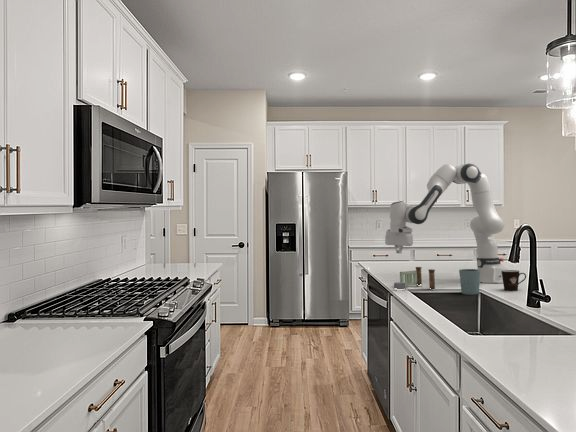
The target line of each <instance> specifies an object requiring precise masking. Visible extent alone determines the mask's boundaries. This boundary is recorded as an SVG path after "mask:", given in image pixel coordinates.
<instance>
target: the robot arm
mask: <svg viewBox="0 0 576 432" xmlns="http://www.w3.org/2000/svg"><path fill="white" fill-rule="evenodd" d="M427 181H428V182H427V184H426V188H427V190H428V191H427V194H426V195H425V196H424V198H423V199H422V201H421V202H420V203H419V204H418V205H415V206H413V205H410V204H409V203H406V202H404V201H403V200H399V201H394V202H392V203H391V204H390V207H389V219H390V223H389V228H390V229H387V230H386V231H385V237H384V240H385V241H384V242H385V245H386V246H393V248H394V249H395V253H396V254H399V255H400V254H402V253H403V248H404V247H411V246H413V244H414V238H413V229H412V228H411V227H409V226H407V223H409V224H414V225H415V224H416V225H421V224H423V223H425V222H426V221H427V218H428V216H429V212H430V210H431V209H432V208H433V206H435V204H436V202H437V201H438V199H440V196H442V195H443V193H445V191H446V190H448V188H449V186H450V185H451V184H452V183H454V184H457V185H464V184H467V185H468V186H469V189H470V195H471V203H472V207H473V208H474V209H475V211H476V213H477V215H476V216H474V217H473V218H472V219H471V220H470V222H469V226H470V227H469V228H470V229H471V231H472V232H473V235H474V238H475V242H476V243H475V244H476V251H477V257H476V266H477V269H478V270H480V283H481V282H482V284H483V283H484V284H503V278H502V272H501V271H502V270H509V268H507V267H506V266H505V265H503V264H502V263H503V262H505V259H504V258H503V257H499V253H498V252H499V251H498V243H497V241H496V240H495V237H494V235H496V234H500V233H501V232H502V231H503V229H504V228H505V223H504V222H505V221H504V220H503V219H502V218H501V217H500V215H499V213H498V212H497V210H496V207H495V204H494V201H493V194H492V189H491V184H490V181H489V178H488V176H487V175H486V174H484V173H482V172H481V171H480V169H479V167H478V165H476V164H474V163H464V164H460V165H458V166H453V164H450V163H449V164H448V163H445V164H443V165H441V166H440V167H439V168H438V169H436V171H435V172H434V174H432V176H431V177H430V178H429V179H428V180H427ZM501 262H502V263H501Z"/></svg>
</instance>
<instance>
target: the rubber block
mask: <svg viewBox="0 0 576 432" xmlns="http://www.w3.org/2000/svg"><path fill="white" fill-rule="evenodd" d="M394 288H397V289H404V288H405V289H406V286H405V282H404V283H403V282H400V281H397V282H393V289H394Z"/></svg>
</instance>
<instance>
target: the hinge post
mask: <svg viewBox="0 0 576 432" xmlns="http://www.w3.org/2000/svg"><path fill="white" fill-rule="evenodd" d="M415 271H417V284H418V285H420V284H422V285H423V283H422V282H423V281H422V267H421V266H415Z"/></svg>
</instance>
